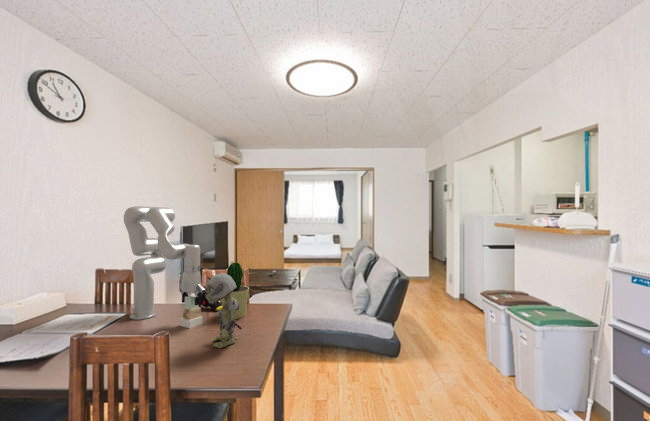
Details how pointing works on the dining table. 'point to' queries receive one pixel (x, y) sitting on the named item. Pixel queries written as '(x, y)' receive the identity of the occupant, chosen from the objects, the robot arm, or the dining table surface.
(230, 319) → the toy
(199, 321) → the tower base
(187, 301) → the sage block
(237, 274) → the potted cactus
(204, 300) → the toy gun
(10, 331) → the dining table surface
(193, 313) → the tower top
